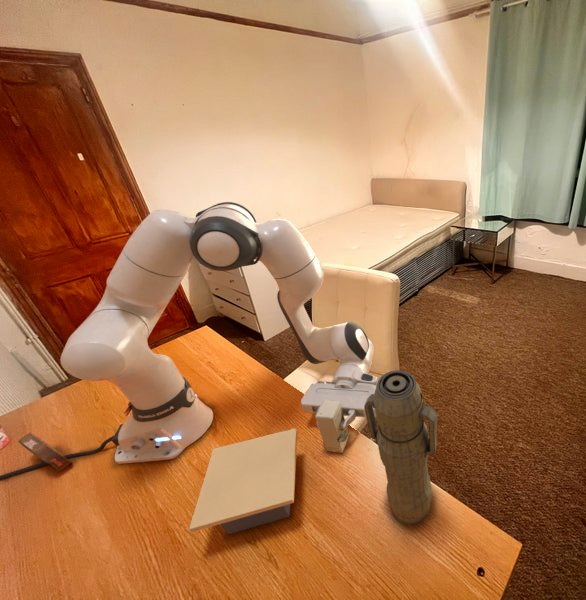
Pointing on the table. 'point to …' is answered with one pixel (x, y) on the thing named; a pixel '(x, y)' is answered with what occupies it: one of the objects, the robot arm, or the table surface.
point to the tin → (44, 451)
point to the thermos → (403, 443)
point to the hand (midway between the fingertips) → (331, 427)
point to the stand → (248, 483)
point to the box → (332, 426)
